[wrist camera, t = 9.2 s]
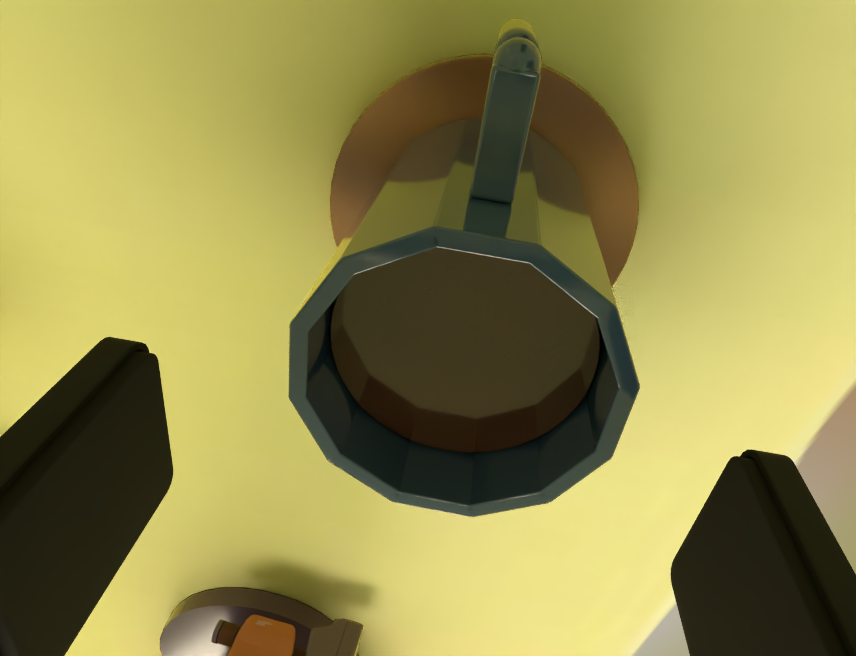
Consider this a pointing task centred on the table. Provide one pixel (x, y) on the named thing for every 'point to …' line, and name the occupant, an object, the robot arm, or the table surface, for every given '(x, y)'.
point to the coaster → (465, 98)
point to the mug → (468, 319)
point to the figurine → (254, 627)
